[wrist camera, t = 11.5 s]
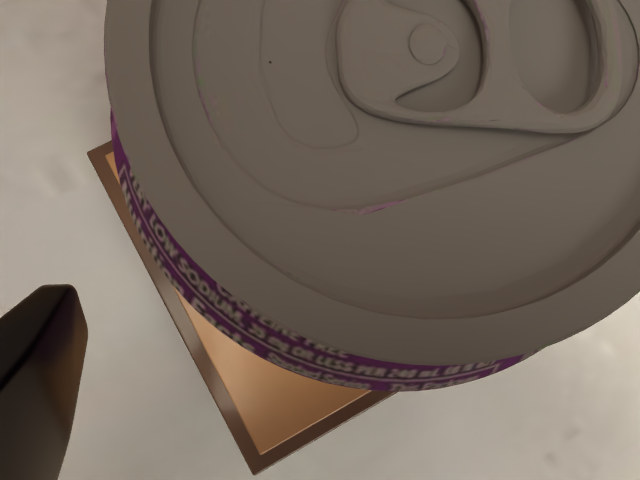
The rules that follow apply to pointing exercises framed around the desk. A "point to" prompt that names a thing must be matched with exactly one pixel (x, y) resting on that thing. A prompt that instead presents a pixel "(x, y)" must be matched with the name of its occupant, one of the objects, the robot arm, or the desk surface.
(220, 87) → the beverage can
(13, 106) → the desk surface
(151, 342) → the desk surface
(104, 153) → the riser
